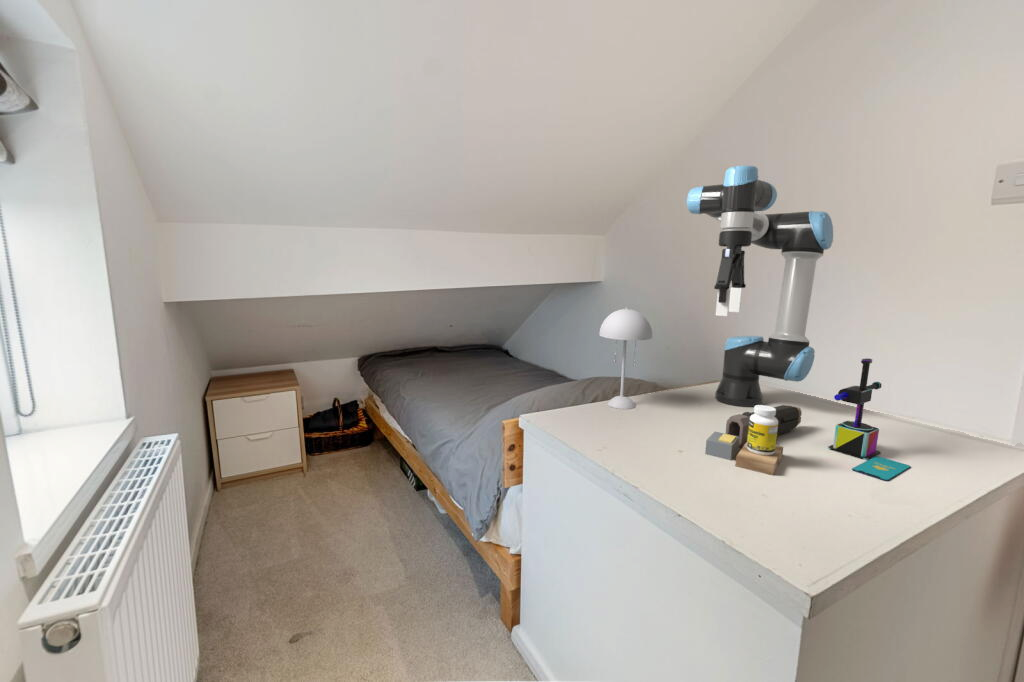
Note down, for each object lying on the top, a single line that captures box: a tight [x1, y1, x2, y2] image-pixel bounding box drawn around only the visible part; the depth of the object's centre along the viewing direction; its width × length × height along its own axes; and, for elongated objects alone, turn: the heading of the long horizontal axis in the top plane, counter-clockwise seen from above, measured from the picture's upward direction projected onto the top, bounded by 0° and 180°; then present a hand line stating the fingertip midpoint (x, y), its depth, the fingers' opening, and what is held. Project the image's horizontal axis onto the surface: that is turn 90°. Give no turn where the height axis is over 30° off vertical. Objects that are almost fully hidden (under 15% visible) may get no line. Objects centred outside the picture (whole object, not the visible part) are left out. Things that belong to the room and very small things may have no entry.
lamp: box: [598, 307, 653, 410], centre depth 159 cm, size 17×17×33 cm
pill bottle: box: [747, 404, 778, 455], centre depth 116 cm, size 6×6×11 cm
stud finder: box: [704, 431, 739, 461], centre depth 122 cm, size 8×6×4 cm
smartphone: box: [851, 455, 911, 482], centre depth 114 cm, size 7×1×15 cm
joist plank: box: [735, 442, 784, 476], centre depth 117 cm, size 14×8×2 cm, turn 143°
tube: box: [725, 404, 803, 449], centre depth 133 cm, size 11×7×30 cm
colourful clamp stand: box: [827, 358, 882, 461], centre depth 125 cm, size 25×9×24 cm, turn 124°
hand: (728, 313), depth 125 cm, fingers open, 13 cm apart
